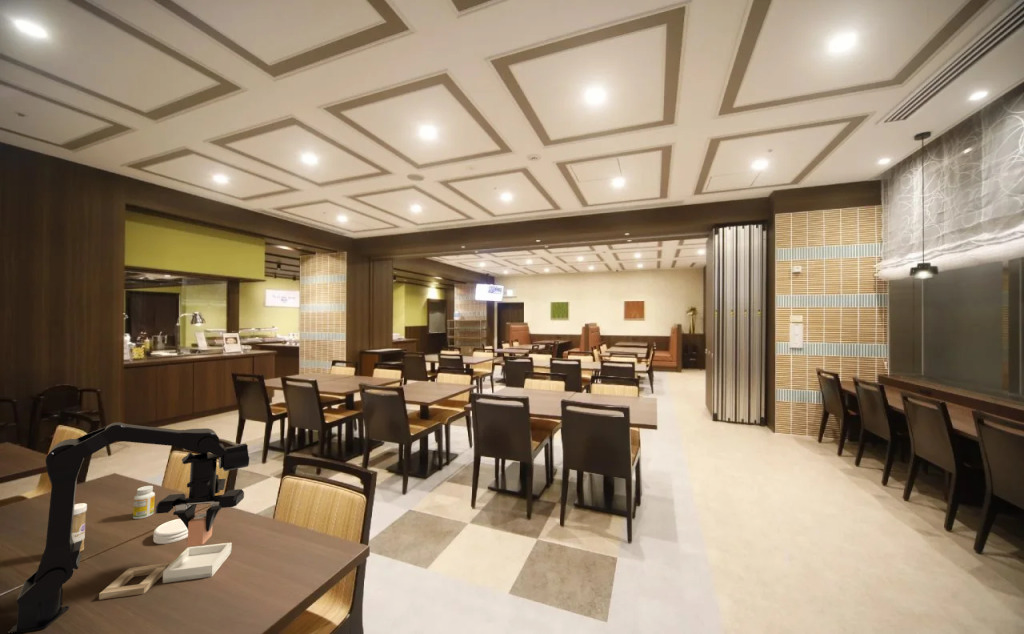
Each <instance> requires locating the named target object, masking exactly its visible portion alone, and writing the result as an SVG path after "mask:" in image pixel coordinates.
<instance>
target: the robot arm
mask: <svg viewBox="0 0 1024 634" xmlns="http://www.w3.org/2000/svg"><path fill="white" fill-rule="evenodd" d="M115 442H125V443H135V444H147V445H149V444H150V445H159V446H170V447H176V448H180V449H182V450H185V451H189V452H188V454H187V455H185V456H184V457H182V459H181V463H182V464H183V465H187V464H190V471H189V482H188V483H186V488H189V489H188V497H186V494H185V493H175V494H169V495H167V496H165V497H164V498H162V499H161V500H159V502H158V503H157V504H156V506H155V515H156V514H167V513H170V512H171V511H172V510H173V509H174V507H175V509H174V510H175V511H173V513H172V514H173V516H177V517H178V519H181V520H182V521H183V523H184V524H185V526H186V527H187V529H188V524H189V521H190V520H191V519H193V518H194V517H195V516H196V508H197V505H206V504H210V507H209V508H207V509H206V511H205V512H206V530H207V532H208V531H209V530H210V529H211V526H212V527H213V524H214V521H215V519H216V516H217V515H218V513H219V512H220V510H222V509H225V508H226V509H227V508H233V507H237V506H238V505H239V503H240V502H241V501H243V500H244V498H245V491H244V490H243V489H241V488H239V489H228V490H227V491H226V492H225V493H224V494H219V493H220V491H224V490H225V485H226V484H225V483H226V478H219V474H217V463H218V469H220V470H221V469H222V470H223V472H228V471H233V470H238V469H243V468H247V467H249V465H250V455H249V449H248V446H249V445H248V444H247V443H240V444H237V445H232V446H226V447H225V445H224V443H221V442H220V438H219V436H218V434H217V433H216V431H214V430H213V429H212V428H190V429H172V428H165V427H164V428H163V427H155V426H147V425H146V426H145V425H138V424H129V423H123V422H119V421H118V422H117V421H115V422H112V423H110V424H108V425H106V426H104V427H102V428H99V429H97V430H94V431H92V432H89V433H86V434H84V435H82V436H79V437H78V438H68V439H65V440H62V441H59V442H58V443H56V444H55V445H54V446H52V448H51V450H50V451H48V452H49V453H48V454H47V456H46V457H45V468H46V473H47V476H48V479H49V481H50V485H51V489H50V500H49V507H48V508H49V510H48V518H47V520H48V522H47V529H46V541H45V547H44V550H43V554H42V557H41V558H40V559H41V560H40V563H39V565H38V568H37V570H36V571H35V572H33V573H32V574H31V575H30V576H29V577H28V578H27V579H25V581H24V582H23V585H22V587H21V590H20V592H19V594H18V597H17V599H16V603H17V617H16V618H17V620H16V624H15V625H14V626H12V627H11V628H12V629H13V630H12V631H10V633H11V632H13V634H19V633H25V632H32V631H39V630H44V629H46V628H47V627H49V625H51V624H52V623H53V622H55V621H56V620H57V619H59V618H60V617H61V616H62V615H63V614H64V613H66V612H67V611H68V610H69V609H70V605H64V606H62V605H63V593H64V588H63V585H64V584H66V583H67V582H68V581H69V580H70V579H72V577H73V573H74V570H78V569H79V568H80V567H79V566H80V563H81V559H82V555H81V553H80V548H81V544H82V540H81V541H78V542H75V543H74V542H73V539H72V526H73V515H74V505H75V504H76V503H75V502H76V492H77V483H78V476H79V473H80V470H81V467H82V464H83V462H84V460H85V458H87V457H89V456H91V455H92V454H95V453H97V452H98V451H100V450H102V449H104V448H105V447H108V446H109V445H111V444H113V443H115ZM192 452H193V453H194V454H193V453H192ZM217 494H219V495H217ZM15 632H16V633H15Z"/></svg>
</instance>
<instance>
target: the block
mask: <svg viewBox="0 0 1024 634" xmlns="http://www.w3.org/2000/svg"><path fill="white" fill-rule="evenodd" d="M212 535H213V525H212V526H211V529H210V530H209V531H208V532H207V530H206V511H205V512H198V513H197V514H195V517H194V518H193V519H191V520H190V521H189V524H188V537H187V544H186V546H187V547H196V546H204V544H205V543H206V542H207V541H208V540H209V539H210V538H211V537H212Z"/></svg>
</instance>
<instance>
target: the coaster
mask: <svg viewBox="0 0 1024 634" xmlns="http://www.w3.org/2000/svg"><path fill="white" fill-rule="evenodd" d="M186 538H187V539H188V529H187V527H186V526H185V524H184V523H183V521H182V520H181V519H180V518H176V519H171V520H170V521H166V522H164V523H162V524H160V525H159V526H157V527H156V528H155V529H154V530H153V539H152V541H153V542H154V544H157V545H167V544H172V543H175V542H179V541H180V542H181V541H182V540H185V539H186Z"/></svg>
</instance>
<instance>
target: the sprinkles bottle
mask: <svg viewBox="0 0 1024 634" xmlns="http://www.w3.org/2000/svg"><path fill="white" fill-rule="evenodd" d="M87 511H88V504H87V503H85V502H82V503H81V502H80V503H75V505H74V515H73V526H72V539H73V542H74V543H75V542H78V541H81V540H82V544H81V548H80V552H82V551H84V550H85V538H86V515H87V513H86V512H87Z"/></svg>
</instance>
